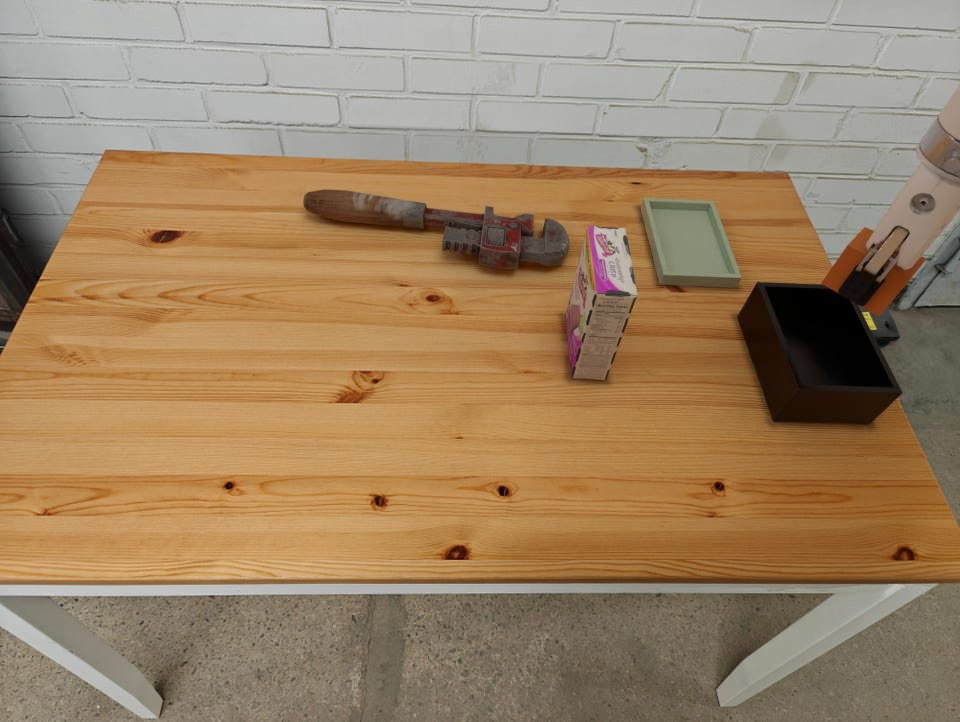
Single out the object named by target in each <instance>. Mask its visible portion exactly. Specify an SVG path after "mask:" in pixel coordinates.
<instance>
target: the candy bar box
mask: <svg viewBox="0 0 960 722" xmlns="http://www.w3.org/2000/svg"><path fill="white" fill-rule="evenodd" d="M572 284H573V285H572V288H571V292H570V296H569V300H568V305H567V308H566V312H565V323H566V325H565V326H566V334H567V345H568V346H567V347H568V355H569V356H568V357H569V368H570V379H573V380H592V381H607V380H608V377H609V374H610V371H611V370H612V366H613V363H614V361H615V358H616V355H617V353H618V349H619V347H620V344H621V342H622V338H623V336H624V333H625V331H626V327H627V325H628V322H629V320H630V316H631V314H632V311H633V309H634V306H635V303H636V300H637V298H638V296H639V294H638V290H637V288H638V287H637V282H636V278H635V273H634V267H633V261H632V256H631V249H630V243H629V238H628V233H627V229H626V227H612V226H611V227H610V226H601V227H600V226H598V225H589V226H587V225H586V228H585V233H584V237H583V240H582V246H581V250H580V254H579V258H578V262H577V267H576V272H575V276H574V280H573V283H572Z"/></svg>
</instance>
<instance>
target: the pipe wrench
mask: <svg viewBox="0 0 960 722" xmlns="http://www.w3.org/2000/svg"><path fill="white" fill-rule="evenodd" d="M302 204H303V208H304V209H305V210H306V211H308V212H310V213H312V214H314V215H317V216H319V217H322V218H326V219H329V220H330V219H331V220H335V221H340V222H346V223H356V224H357V223H358V224H366V225H377V226H393V227H405V228H413V229H422V230H423V229H424V228H425V227H426V225H427V226H435V227H443V228H444V232H443V237H442V244H441V245H442V246H441V251H442V252H446V251H449V252H450V253H455V252H457V253H458V254H463V253H466V254H467V255H472V254H475V256H478V261H477V263H478V265H482V266H485V267H489V268H494V269H495V268H496V269H506V270H515V269H518V268H519V262H528V263H535V264H536V263H537V264H540V265H542V266H544V267H553V266H557V265H559V264H560V263H561V262H562V261H563V260H564V259H565V258H566V257H567V254H568V253H569V250H570V246H571V245H570V244H571V243H570V237H569V234H568V232H567V229H566V228H565V227H564V226H563V225H562V224H561V223H559V222H558V221H557V220H554V219H551V218H546V217H545V218H544V223H543V227H542V237H534V235H533V234H534V226H535V225H534V224H535V220H534V219H535V217H534V216H535V215H534V214H532V213H531V214H530V213H522V214H518V215H516V216H515V217H511V216H509V217H508V216H501V215H496V214H495V209H494V206H489V205H485V208H484V213H476V212H475V213H474V212H467V211H457V210H448V209H440V208H433V207H428V205H427V203H426V202H422V201H421V202H420V201H412V200H406V199H401V198H394V197H388V196H383V195H378V194H371V193H365V192H358V191H354V190H353V191H352V190H346V189H325V188H323V189H318V190H313V191H312V190H311V191H307V192H306V193H304V196H303V199H302Z"/></svg>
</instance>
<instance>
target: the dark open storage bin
mask: <svg viewBox="0 0 960 722" xmlns="http://www.w3.org/2000/svg"><path fill="white" fill-rule="evenodd" d="M736 318H737V320H738V324H739V327H740V329H741V332H742V335H743V339H744V341H745V343H746V347H747V350H748V353H749V356H750V358H751V362H752V364H753V367H754V370H755V373H756V375H757V379H758V381H759V385H760V387H761V391H762V393H763V397H764V399H765V402H766V405H767V408H768V411H769V413H770V416H771V419H772V422H774V423H808V424H809V423H811V424H842V425H843V424H845V425H847V424H849V425H871V424H872V423H873V422H874V421H875V420H876V419H877V418H878V417H879V416H881V414H883V413H884V412H885V411H886V410H887V409H888V408H889V407H890V406H891V405H892V404H893V403H894V402H895V401H896V400H897V399H898V398H899V397H900V396H901V395H902V394H903V390H902V388H901V386H900V384H899V382H898V381H897V378H896V376H895V375H894V373H893V371H892V368H891V367H890V365H889V363H888V361H887V359H886V357H885V355H884V353H883V351H882V349H881V347H880V345H879V343H878V341H877V339H876V337H875V335H874V333H873V331H872V330H871V327H870V325H869V324H868V321H867V320H866V318H865V316H864V313H863V312H862V310H861V308H860V306H859V305H858V304H856V303H854V302H852V301H851V300H849V299H847V298H846V297H844V296H842V295H840V294H839V293H837V292H835V291H833V290H832V289H830V288H828V287H827V286H825V285H823V284H821V283H820V284H818V283H798V282H797V283H794V282H793V283H792V282H770V281H769V282H768V281H757V282H756V283H755V285H754V287H753V288H752V290H751V291H750V294H749V295H748V297H747V299H745V302H744V303H743V305H742V307H741V309H740V311H739V313H738V314H737V316H736Z"/></svg>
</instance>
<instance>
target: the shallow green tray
mask: <svg viewBox="0 0 960 722" xmlns="http://www.w3.org/2000/svg"><path fill="white" fill-rule="evenodd" d="M715 203H716V202H715V201H714V200H701V199H683V198H681V199H680V198H657V197H643V198H642V202H641V205H640V207H639V208H640V212H641V216H642V221H643V224H644V228H645V232H646V237H647V240H648V244H649V248H650V252H651V256H652V260H653V263H654V268H655V271H656V274H657V275H656V276H657V279H658V283H659V285H660V286H678V287H679V286H685V287H709V288H711V287H712V288H713V287H714V288H731V289H732V288H733V289H734V288H738V286H739V284H740V282H741V280H742V278H743V277H742V274H741V272H740V269H739V265H738V262H737V260H736V258H735V254H734V252H733V249H732V247H731V243H730V242H729V238H728V236H727V233H726V231H725V228H724V226H723V222H722V220H721V217H720V215H719V211H718V208H717V206H716V204H715Z"/></svg>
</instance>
